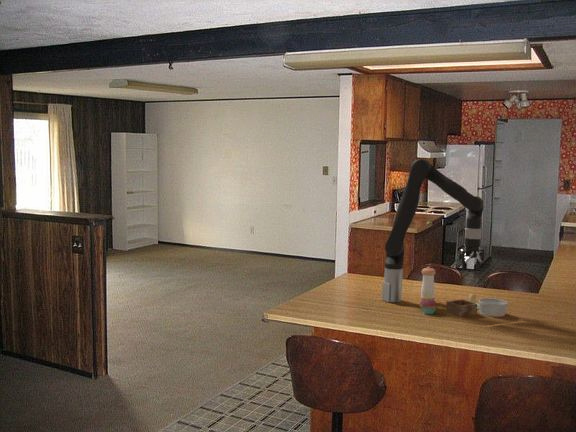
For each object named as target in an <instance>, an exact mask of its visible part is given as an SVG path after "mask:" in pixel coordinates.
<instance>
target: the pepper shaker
mask: <svg viewBox="0 0 576 432" xmlns="http://www.w3.org/2000/svg"><path fill="white" fill-rule="evenodd" d="M436 273H437V272H436V269H434V268H433V267H430V266H427V267H425V268H422V270H421V274H422V282H421V283H422V285H421V288H420V297H419V298H420V299H419V303H420V302H421V301H423V300H425V299H426V291H427V297H428V299H430V300H434V301H435V302H436V300H435V298H436V297H435V283H434V282H435V279H434V278H435V275H436Z"/></svg>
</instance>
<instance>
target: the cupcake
mask: <svg viewBox="0 0 576 432" xmlns="http://www.w3.org/2000/svg"><path fill="white" fill-rule="evenodd" d="M419 307H420V308H421V309H422V310H421V311H422V314H425V315H433V314H435V312H436V310H437V309H438V307H439V305H438V302H436V300H435V301H434V300H430V299H428V297H427V291H426V299H425V300H423V301H421V302H420V301H419Z"/></svg>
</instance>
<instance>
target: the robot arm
mask: <svg viewBox="0 0 576 432" xmlns="http://www.w3.org/2000/svg"><path fill="white" fill-rule="evenodd" d="M425 180H428V181H429V182H431V183H433V184H434V185H436V186H437V187H438V188H439V189H440V190H441V191H443V192H444V193H445V194H446V195H447V196H449V197H451V198H452V199H454V200H456V201H457V202H458V203H460V204H461V205H462V206H463V207H464V208H465V209H467V211H468V212H467V213H468V215H467V217H466V221H465V222H466V223H465V232H464V247H465V248H464V249H462V248H461V249H459V257H458V261H459V262H460V263H461V270H462V271H464V272H467V270H468V262H469V260H471V259H474V260H475V267H474V268H475V270H478V271H479V270H480V269H481V262H482V261H485V248H482V247H481V245H482V243H481V242H482V215H483V211H484V200H483V198H481V197H480V196H475V195H473V194H472V193H470V192H469V191H468V190H467V189H466V188H465V187H463V186H462V185H460V184H459V183H457V182H456V181H454V180H452V179H451V178H450V177H447V176H446V175H444V174H443V173H441V171H439V170H438V169H437V168H436V167H435V166H434V165H433V164H432V163H431V162H430V161H429V160H428V159H424V158H417V159H415V160H414V161H413V162H412V164H411V165H410V169H409V174H408V178H407V181H406V185H405V187H404V190H403V192H402V195H401V198H400V200H399V203H398V206H397V208H396V209H397V210H396V213H395V217H394V220H393V224H392V228H391V231H390V232H389V235H388V237H387V240H386V241H385V243H384V251H385V260H384V261H385V262H384V275H383V276H384V278H383V279H384V280H383V282H382V290H381V291H382V292H381V300H382V301H384V302H387V303H400V302H402V300H403V299H402V296H403V294H402V293H403V274H404V273H403V272H404V270H403V269H404V260H405V242H404V241H405V237H406V234H407V232H408V229H409V227H410V226H411V224H412V222H413V220H414V217H415V216H416V213H417V209H418V207H419V202H420V197H421V196H420V195H421V188H422V185H423V183H424V181H425Z"/></svg>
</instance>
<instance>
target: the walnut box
mask: <svg viewBox="0 0 576 432" xmlns="http://www.w3.org/2000/svg"><path fill="white" fill-rule="evenodd" d="M477 304H478V303H477ZM477 304H475V303H472V302H469V301H468V300H466V299H463V298H462V299H455V300H446V304H445V306H446V307H445V312H446V313H448V314H451V315H453V316H455V317H456V316H457V317H460V318H463V317H471V316H477V315H478V309H477Z"/></svg>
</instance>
